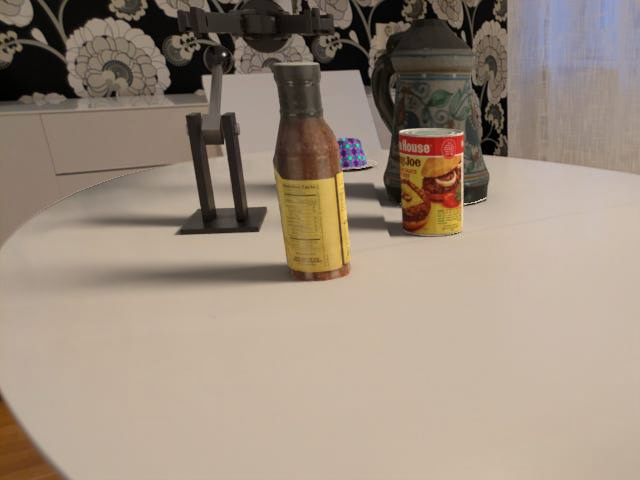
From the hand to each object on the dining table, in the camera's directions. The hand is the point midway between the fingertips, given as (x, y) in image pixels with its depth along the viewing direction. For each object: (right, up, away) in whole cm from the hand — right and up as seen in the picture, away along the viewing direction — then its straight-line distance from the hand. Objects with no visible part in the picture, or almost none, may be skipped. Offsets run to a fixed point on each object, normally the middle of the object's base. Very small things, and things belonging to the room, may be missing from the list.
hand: (252, 20), depth 84 cm
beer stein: (+20, -17, +22) cm, 34 cm away
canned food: (+22, -26, +3) cm, 34 cm away
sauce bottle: (+12, -34, -16) cm, 40 cm away
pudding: (+2, -5, +48) cm, 49 cm away
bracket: (-4, -25, +3) cm, 26 cm away
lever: (-5, -9, +3) cm, 11 cm away
